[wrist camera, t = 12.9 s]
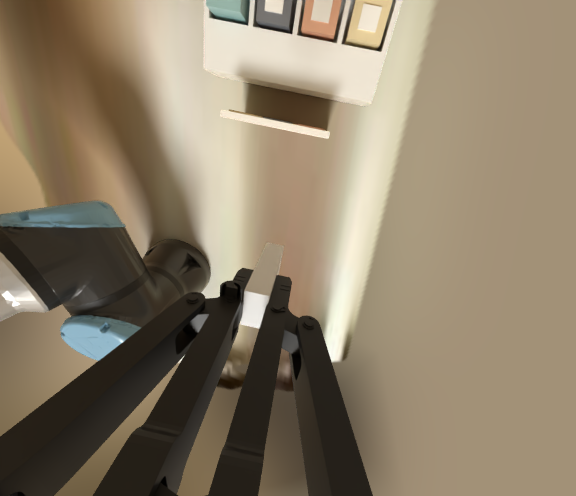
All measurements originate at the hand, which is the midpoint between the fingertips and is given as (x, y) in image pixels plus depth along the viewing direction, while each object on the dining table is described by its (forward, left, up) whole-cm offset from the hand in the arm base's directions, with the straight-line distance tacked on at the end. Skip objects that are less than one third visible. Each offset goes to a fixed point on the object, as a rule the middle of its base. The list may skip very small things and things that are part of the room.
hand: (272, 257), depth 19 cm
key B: (-1, +23, -25) cm, 34 cm away
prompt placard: (-4, +10, -26) cm, 29 cm away
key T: (+5, +23, -25) cm, 34 cm away
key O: (-7, +23, -25) cm, 35 cm away
